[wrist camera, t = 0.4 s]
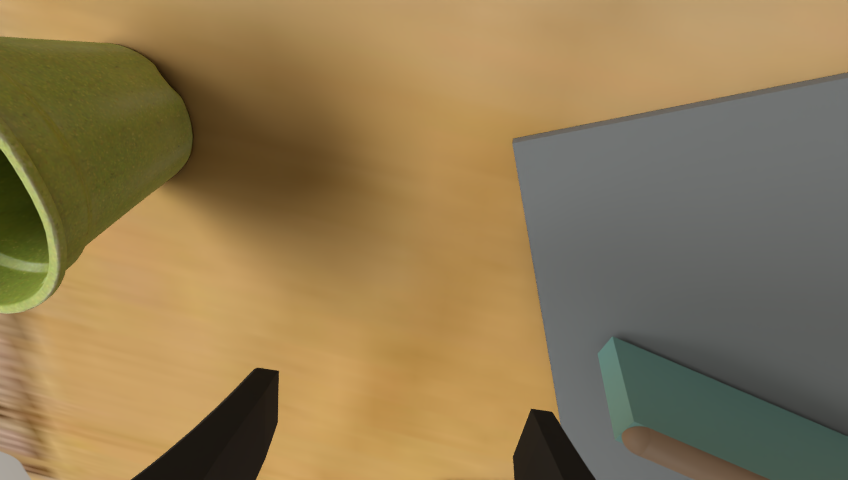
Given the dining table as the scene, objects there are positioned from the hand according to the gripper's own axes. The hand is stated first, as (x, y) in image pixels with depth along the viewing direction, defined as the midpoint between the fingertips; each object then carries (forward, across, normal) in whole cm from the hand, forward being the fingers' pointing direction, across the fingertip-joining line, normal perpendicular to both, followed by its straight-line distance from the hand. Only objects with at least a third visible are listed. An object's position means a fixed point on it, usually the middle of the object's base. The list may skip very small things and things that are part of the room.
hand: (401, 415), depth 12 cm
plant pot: (+11, +14, -4) cm, 18 cm away
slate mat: (+7, -15, 0) cm, 16 cm away
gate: (+6, -15, +3) cm, 16 cm away
